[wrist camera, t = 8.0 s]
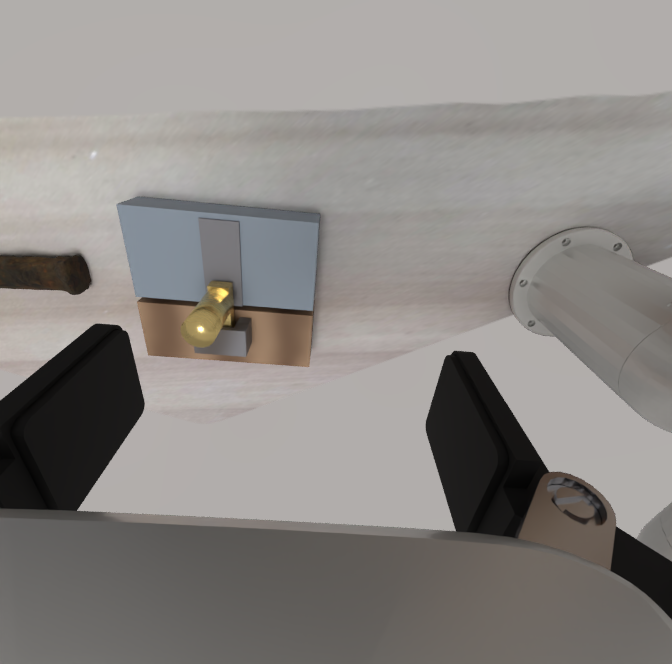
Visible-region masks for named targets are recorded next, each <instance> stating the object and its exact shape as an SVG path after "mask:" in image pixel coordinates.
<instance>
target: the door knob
mask: <svg viewBox="0 0 672 664" xmlns="http://www.w3.org/2000/svg"><path fill="white" fill-rule="evenodd" d="M207 290H208V292H207V293H206V294H205V295H204V296H203V298H202V299H201V300H200V302H199V303H198V304H197V305H196V307H195V308H194V309H193V311H192V312H191V313H190V314H189V316H188V317H187V318H186V320H185V321H184V322H183V324H182V325H181V335H182V337H183V338H184V340H185V341H186V342H187V343H189V344H190V345H192V346H195V347H207V346H210V345H211V344H212V343H213V342H214V341H215V339H216V337H217V335H218V333H219V332H220V330H221V328H222V327H232V328H235V318H234V301H233V284H232V282H222V281H211V282H210V283H209V285H208V286H207Z"/></svg>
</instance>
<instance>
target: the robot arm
mask: <svg viewBox="0 0 672 664" xmlns="http://www.w3.org/2000/svg"><path fill="white" fill-rule="evenodd" d="M510 306H511V310H512V312H513V314H514V316H515V317H516V318H517V319H518V321H519V322H520V323H521V324H522V325H523V326H524V327H525V328H526V329H528V330H530V331H532V332H534V333H536V334H540V335H543V336H556V337H557V338H558V339H559V340H560V341H561V342H562V343H563V344H564V345H565V346H566V347H567V348H568V349H570V351H572V353H574V354H575V355H576V356H577V357H578V358H579V359H580V360H581V361H582V362H583V363H584V364H585V365H586V366H587V367H588V368H590V369H591V370H592V371H593V372H594V373H595V374H596V375H597V376H598V377H599V378H600V379H601V380H602V381H603V382H604V383H605V384H606V385H608V386H609V387H610V388H611V389H612V390H613V391H614V392H615V393H616V394H617V395H618V396H619V397H620V398H621V399H623V400H624V401H625V402H626V403H627V404H628V405H629V406H630V407H631V408H632V409H633V410H634V411H635V412H637V413H638V414H639V415H640V416H641V417H643V418H644V419H645V420H647V421H649V422H650V423H652V424H653V425H655V426H657V427H659V428H661V429H663V430H666V431H668V432H671V433H672V278H670V277H668V276H665V275H664V274H661V273H659V272H657V271H655V270H652V269H650V268H648V267H646V266H643V265H641V264H639V263H637V262H634V261H633V256H632V253H631V250H630V248H629V247H628V245H627V244H626V242H625V241H624V240H622V239H621V238H620V237H619V236H617V235H615V234H613V233H611V232H609V231H606V230H603V229H600V228H592V227H583V228H575V229H571V230H567V231H564V232H561V233H559V234H557V235H555V236H552V237H551V238H549V239H547V240H546V241H544V242H543V243H541V244H540V245H539V246H537V247H536V248H535V249H534V250H533V251H532V252H530V254H529V255H528V256H527V257H526V258H525V259H524V261H523V262H522V263H521V265H520V266H519V268H518V269H517V271H516V273H515V275H514V278H513V280H512V283H511V288H510ZM144 404H145V403H144V398H143V394H142V390H141V385H140V381H139V377H138V373H137V369H136V364H135V360H134V356H133V352H132V348H131V344H130V339H129V335H128V333H127V332H126V331H123V330H122V328H121V327H120V326H118V325H110V324H94V325H93V326H91V327H90V328H89V329H88V330H87V331H85V332H84V333H83V334H82V335H80V336H79V337H78V338H77V339H75V340H74V341H73V342H72V343H71V344H69V345H68V346H67V347H66V348H64V349H63V350H62V351H61V352H59V353H58V354H57V355H56V356H55V357H53V358H52V359H51V360H50V361H48V362H47V363H46V364H45V365H43V366H42V367H41V368H40V369H39V370H37V371H36V372H35V373H34V374H32V375H31V376H30V377H29V378H28V379H26V380H25V381H24V382H23V383H21V384H20V385H19V386H18V387H17V388H15V389H14V390H13V391H12V392H10V393H9V394H8V395H7V396H5V397H4V398H3V399H2V400H0V664H672V503H670V504H669V505H668V506H667V507H666V508H664V509H663V510H662V511H661V512H660V513H658V514H657V515H656V516H655V517H654V518H653V519H652V520H651V521H650V522H649V523H647V524H646V525H645V526H644V528H643V529H642V530H641V532H640V533H639V535H638V537H637V539H635V538H634V537H632V536H630V535H629V534H627V533H626V532H624V531H622V530H621V529H619V528H618V527H616V517H615V513H614V511H613V509H612V507H611V505H610V503H609V502H608V501H607V500H606V498H605V497H604V496H603V495H602V494H601V493H600V492H599V491H598V490H596V489H595V488H594V487H593V486H592V485H590V484H588V483H587V482H585V481H584V480H582V479H580V478H578V477H575V476H573V475H571V474H567V473H563V472H549V471H548V469H547V468H546V466H545V465H544V463H543V461H542V460H541V458H540V456H539V455H538V453H537V452H536V450H535V448H534V447H533V445H532V444H531V442H530V440H529V439H528V437H527V436H526V434H525V432H524V431H523V429H522V428H521V426H520V424H519V423H518V421H517V419H516V418H515V417H514V415H513V413H512V411H511V410H510V408H509V407H508V405H507V404H506V402H505V401H504V399H503V397H502V396H501V395H500V393H499V391H498V389H497V388H496V386H495V385H494V383H493V382H492V380H491V378H490V377H489V375H488V373H487V372H486V370H485V369H484V367H483V366H482V364H481V362H480V361H479V359H478V357H477V356H476V354H475V353H473V352H463V351H454V352H453V353H452V354H451V355H447V356H446V357H445V360H444V363H443V366H442V370H441V373H440V377H439V380H438V383H437V386H436V390H435V393H434V397H433V400H432V403H431V407H430V410H429V413H428V417H427V420H426V433H427V436H428V440H429V443H430V446H431V450H432V453H433V456H434V459H435V463H436V466H437V469H438V472H439V476H440V479H441V483H442V486H443V489H444V493H445V496H446V499H447V503H448V506H449V509H450V513H451V516H452V519H453V523H454V526H455V529H456V531H442V530H429V529H415V528H398V527H381V526H363V525H346V524H329V523H311V522H292V521H273V520H254V519H253V520H252V519H234V518H214V517H195V516H175V515H152V514H131V513H110V512H108V513H107V512H88V511H87V512H86V511H77V509H78V508H79V507H80V505H81V504H82V502H83V501H84V499H85V498H86V496H87V495H88V493H89V492H90V490H91V489H92V487H93V486H94V484H95V483H96V481H97V480H98V478H99V477H100V475H101V474H102V473H103V471H104V470H105V468H106V466H107V465H108V464H109V462H110V460H111V459H112V458H113V456H114V455H115V453H116V452H117V450H118V449H119V447H120V446H121V444H122V443H123V441H124V440H125V438H126V437H127V436H128V434H129V433H130V431H131V429H132V428H133V427H134V425H135V424H136V422H137V421H138V419H139V418H140V416H141V415H142V413H143V410H144Z"/></svg>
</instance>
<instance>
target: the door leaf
mask: <svg viewBox="0 0 672 664" xmlns="http://www.w3.org/2000/svg"><path fill="white" fill-rule="evenodd" d="M116 205H117V209H118V214H119V219H120V224H121V228H122V233H123V238H124V243H125V247H126V252H127V257H128V262H129V266H130V271H131V276H132V280H133V285H134V290H135V295H136V297H147V298H159V299H172V300H184V301H196V302H200V300H201V299H202V298H203V296H204V295H205V294H206V293H207V292H208V290H207V286H208V285H209V283H210V282H211V281H222V282H232V284H233V301H234V306H242V307H243V305H246V306H258V307H270V308H283V309H295V310H307V311H313V306H314V297H315V284H316V269H317V254H318V240H319V225H320V214H316V213H305V212H295V211H284V210H274V209H263V208H253V207H242V206H232V205H221V204H211V203H200V202H190V201H179V200H169V199H158V198H148V197H136V198H133V199H130V200H127V201H124V202H121V203H118V204H116Z"/></svg>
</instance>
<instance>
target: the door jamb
mask: <svg viewBox="0 0 672 664" xmlns="http://www.w3.org/2000/svg"><path fill="white" fill-rule="evenodd" d="M198 303H199V302H196V301H184V300H172V299H159V298H147V297H142V298H141V299H140V300H139V301H138V302H137V304H138V309H139V314H140V318H141V323H142V328H143V333H144V337H145V342H146V347H147V352H148V355H151V356H165V357H179V358H193V359H206V360H220V361H234V362H247V363H261V364H275V365H289V366H302V367H309V363H310V354H311V342H312V328H313V313H314V306H313V311H307V310H295V309H283V308H270V307H258V306H246V305H243V307H242V306H234V318H235V328H232V327H222V328H221V330H220V332H219V333H218V335H217V337H216V339H215V341H214V342H213V343H212V344H211V345H210V346H207V347H195V346H192V345H190V344H189V343H187V342H186V341H185V340H184V338H183V337H182V335H181V325H182V324H183V322H184V321H185V320H186V318H187V317H188V316H189V314H190V313H191V312H192V311H193V309H194V308H195V307H196V305H197V304H198Z"/></svg>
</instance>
